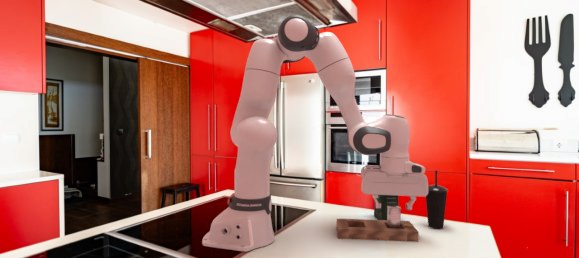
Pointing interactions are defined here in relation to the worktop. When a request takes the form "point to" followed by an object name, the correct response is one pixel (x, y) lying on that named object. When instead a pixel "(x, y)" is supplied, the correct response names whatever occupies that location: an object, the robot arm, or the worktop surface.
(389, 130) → the robot arm
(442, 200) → the drinking cup
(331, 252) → the worktop surface
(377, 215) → the coffee jar
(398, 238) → the board
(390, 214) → the pin
